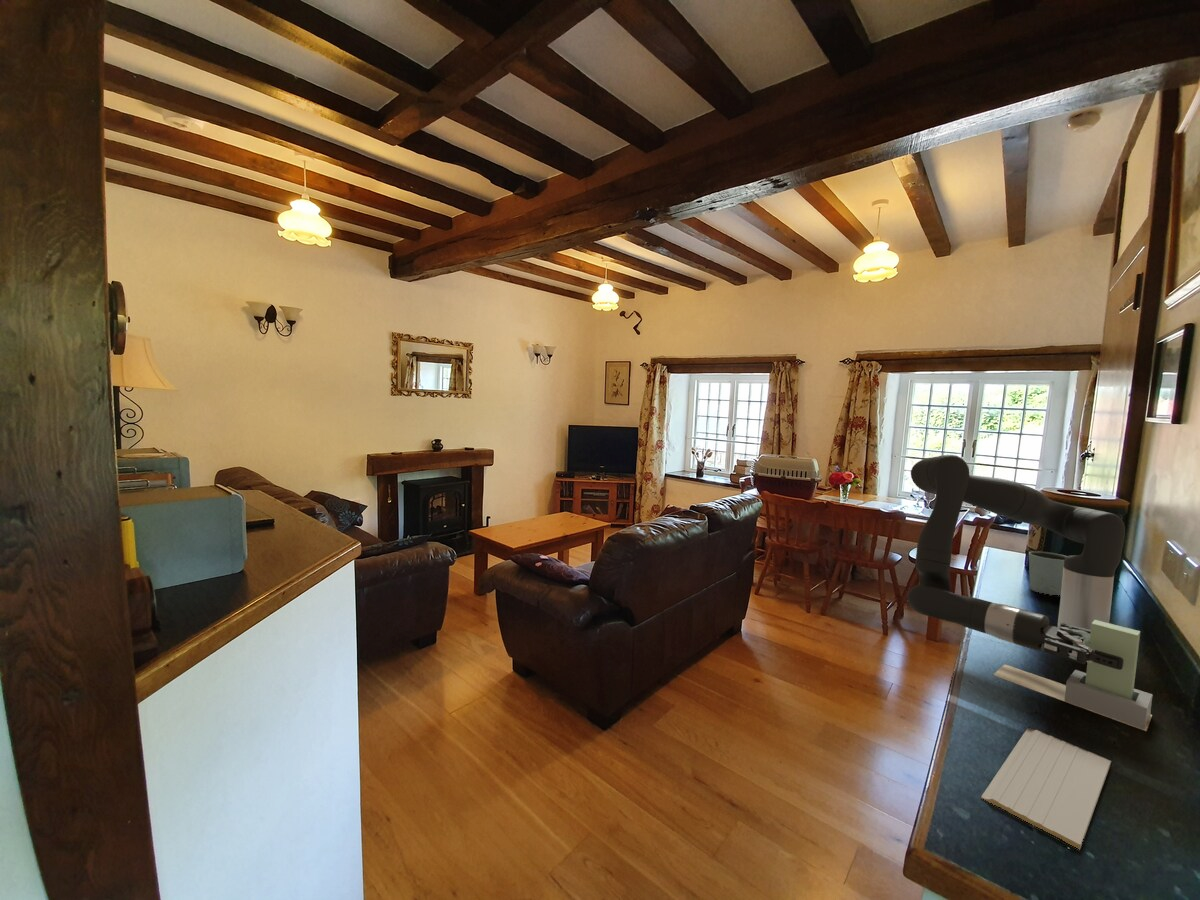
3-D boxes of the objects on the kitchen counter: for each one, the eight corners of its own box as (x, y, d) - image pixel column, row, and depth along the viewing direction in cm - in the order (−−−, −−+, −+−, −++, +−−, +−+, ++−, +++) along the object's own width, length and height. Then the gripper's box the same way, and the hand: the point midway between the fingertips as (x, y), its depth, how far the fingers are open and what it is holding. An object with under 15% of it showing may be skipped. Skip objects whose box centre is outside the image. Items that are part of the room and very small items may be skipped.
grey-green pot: (1071, 599, 151) (1075, 562, 150) (1028, 592, 157) (1032, 556, 156) (1063, 589, 160) (1066, 554, 159) (1022, 583, 165) (1026, 549, 164)
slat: (1086, 697, 96) (1094, 619, 95) (1130, 713, 91) (1140, 631, 90) (1083, 702, 94) (1091, 623, 93) (1128, 718, 90) (1137, 635, 88)
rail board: (1004, 668, 109) (1004, 664, 108) (1151, 720, 91) (1152, 715, 91) (992, 679, 104) (992, 675, 104) (1145, 736, 86) (1146, 730, 86)
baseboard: (968, 795, 73) (1079, 855, 63) (969, 777, 72) (1081, 835, 63) (1022, 719, 91) (1114, 756, 82) (1024, 704, 91) (1116, 740, 82)
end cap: (1073, 688, 99) (1075, 669, 99) (1150, 714, 91) (1152, 694, 91) (1064, 700, 95) (1066, 681, 95) (1144, 729, 86) (1146, 708, 86)
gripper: (1007, 616, 99) (1122, 648, 86) (1027, 601, 107) (1135, 628, 94) (1004, 651, 100) (1118, 689, 87) (1024, 634, 108) (1130, 665, 95)
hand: (1126, 657), depth 90 cm, fingers open, 8 cm apart
